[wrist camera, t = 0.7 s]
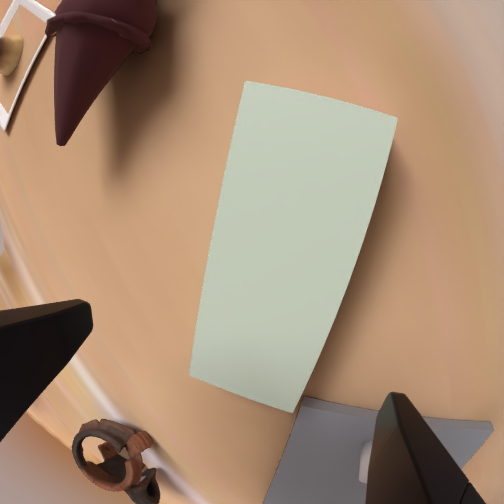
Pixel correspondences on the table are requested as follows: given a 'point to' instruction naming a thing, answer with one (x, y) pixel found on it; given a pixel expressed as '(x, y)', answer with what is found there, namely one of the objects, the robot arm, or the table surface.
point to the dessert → (17, 48)
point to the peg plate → (349, 452)
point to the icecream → (93, 51)
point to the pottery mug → (118, 460)
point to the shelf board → (285, 238)
